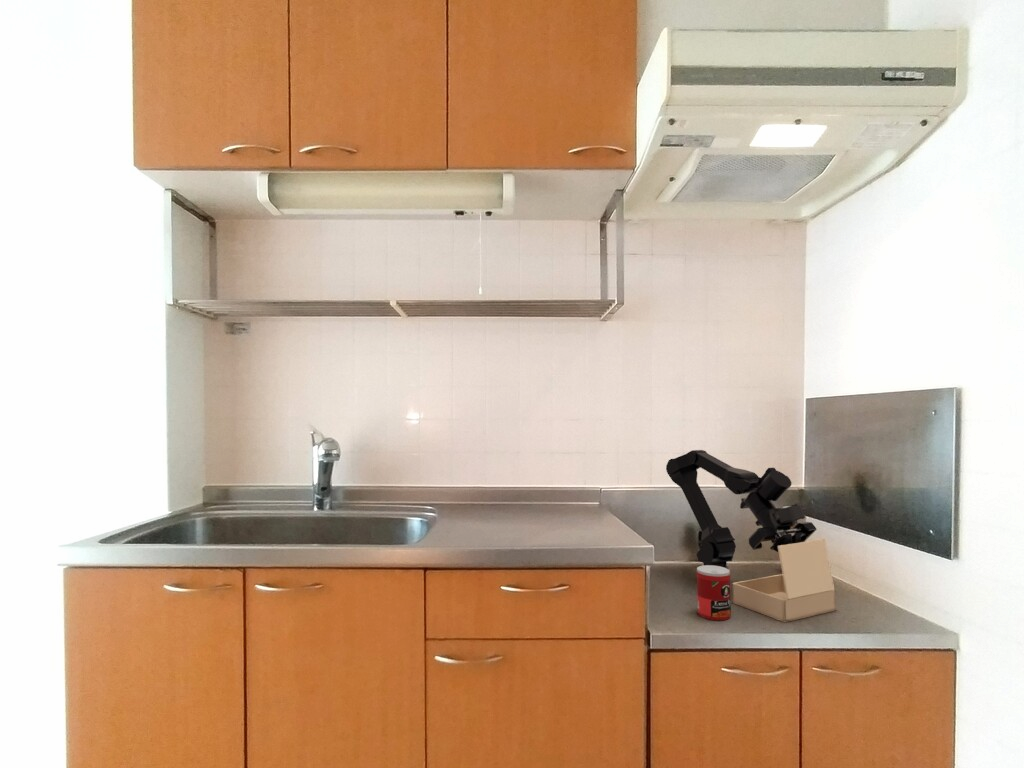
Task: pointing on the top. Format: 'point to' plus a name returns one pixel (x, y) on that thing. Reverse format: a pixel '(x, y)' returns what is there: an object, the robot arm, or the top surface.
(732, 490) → the robot arm
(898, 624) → the top surface
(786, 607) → the carton
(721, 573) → the canned food
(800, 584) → the carton flap
